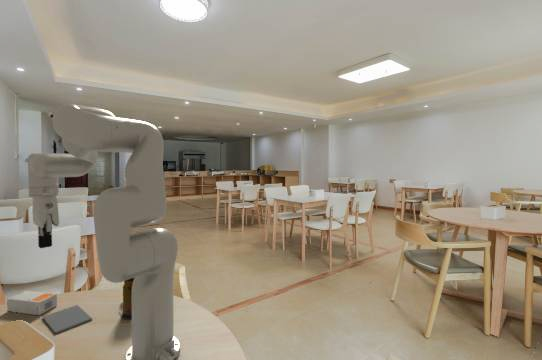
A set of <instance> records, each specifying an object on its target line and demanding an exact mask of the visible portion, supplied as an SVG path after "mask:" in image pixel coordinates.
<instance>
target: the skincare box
mask: <svg viewBox="0 0 542 360" xmlns="http://www.w3.org/2000/svg"><path fill="white" fill-rule="evenodd" d="M57 297H58V296H57V293H52V292H51V293H50V292H42V291H33V290H24V291H22V292H20V293H18V294H15V295H13V296H10V297H9V298H6V306H7V307H6V309H7V312H8V311H13V312H12V313H16V312H17V313H18V314H26V315H32V316H33V315H35V316H41V315H42V314H45V313H47V312H49V311H50V310H51V309H52V310H53V308H56V307H58V299H57Z"/></svg>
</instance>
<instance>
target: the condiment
mask: <svg viewBox="0 0 542 360" xmlns="http://www.w3.org/2000/svg"><path fill="white" fill-rule="evenodd" d="M134 278H135V277H134ZM134 278H131V279H129V280H126V281H123V283H124V284H123V286H122V309H120V310H118V314H119V315H120V317H121V319H122V322H124V323H128V322H132V285H133V281H134Z"/></svg>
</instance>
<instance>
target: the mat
mask: <svg viewBox="0 0 542 360" xmlns="http://www.w3.org/2000/svg"><path fill="white" fill-rule="evenodd" d="M42 320H43V321H44V322H45V324H47V326H48V327H49V328H50V329H51V330H52V332H53V333H54V335H58V334H60V333H62V332H66V331H67V330H70V329H73V328H75V327H78V326H81V325H83V324H86V323H89V322H91V321H93V317H91V316H90V315H89V314H88V313H87V312H86V311H84V309H82V308H81V307H80V306H79V305H78V304H76V305H72V306H70V307H67V308H64V309H61V310H58V311H55V312H53V313H50V314H46V315H43V316H42Z"/></svg>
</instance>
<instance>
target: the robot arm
mask: <svg viewBox="0 0 542 360" xmlns="http://www.w3.org/2000/svg"><path fill="white" fill-rule="evenodd" d="M52 127H53V131H55V133H56V134H57V136H59V138H61V143H62V144H61V145H62V147H63V148H64V150H65V151H66V152H67V153H62V152H61V153H58V152H57V153H56V152H55V153H53V152H49V153H48V152H46V153H45V152H44V153H43V152H42V153H41V152H40V153H30V154H29V155H28V156H27V176H28V177H27V179H28V180H27V182H28V198H32V222H33V224H34V225H35V226H37V231H38V232H37V233H38V235H37V236H38V237H37V238H38V239H37V241H38V242H37V245H38V248H39V249H46V248H50V247H52V246H53V226H55V227H58V226H59V225H60V217H59V216H60V215H59V214H60V213H59V206H58V205H59V204H58V199H57V197H58V196H59V178H78V177H82V176H85V175H86V174H89V172H91V171H92V170H93V169H94V168H95V167H96V165H97V162H98V153H130V154H131V155H130V156H129V157H128V159H127V162H126V165H125V168H124V174H125V182H126V183H125V186H117V187H116V186H115V187H110V188H106V189H105V190H103V191H101V192H100V193H99V194H98V196H97V197H96V199H95V202H94V205H93V224H94V233H95V234H94V235H95V236H94V237H95V243H96V252H97V253H96V255H97V259H98V260H97V262H98V266H99V267H98V268H99V269H100V273H101V274H102V276H103V277H104V279H105V281H108V282H110V283H117V284H118V283H122V282H123V283H124V281H126V280H129V279H131V278H134V277H135V278H134V281H133V285H132V321H131V341H132V342H131V346H130V347H129V348H128V349H127V351H126V352H125V356H124V357H125V358H124V360H175V359H176V358H177V357H179V355H180V350H181V343H180V340H179V339H178V338H177V337H176V336H175V335H174V277H175V276H174V275H175V267H176V260H177V258H178V250H179V249H178V246H179V245H178V240H177V237H176V236H175V234H174V233H173V232H172V231H171V230H169V229H168V228H162V227H155V228H150V229H144V230H140V231H136V232H134V233H130V232H131V229H133V228H137V227H142V226H146V225H151V224H154V223H157V222H160V221H161V220H163V219H164V218H165V216H166V214H167V211H168V208H167V206H168V204H167V193H166V184H165V173H164V165H163V163H164V151H165V146H164V138H163V135H162V133H161V132H160V130H159V129H158V128H157V126H155V125H154V124H151V123H149V122H147V121H142V120H137V119H131V118H125V117H117V116H116V115H114V113H112V112H111V111H109V110H107V109H103V108H98V107H92V106H87V105H82V104H75V103H65V104H62V105H60V106H59V107H58V108H57V109H56V110H55V111H54V113H53V116H52Z"/></svg>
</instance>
